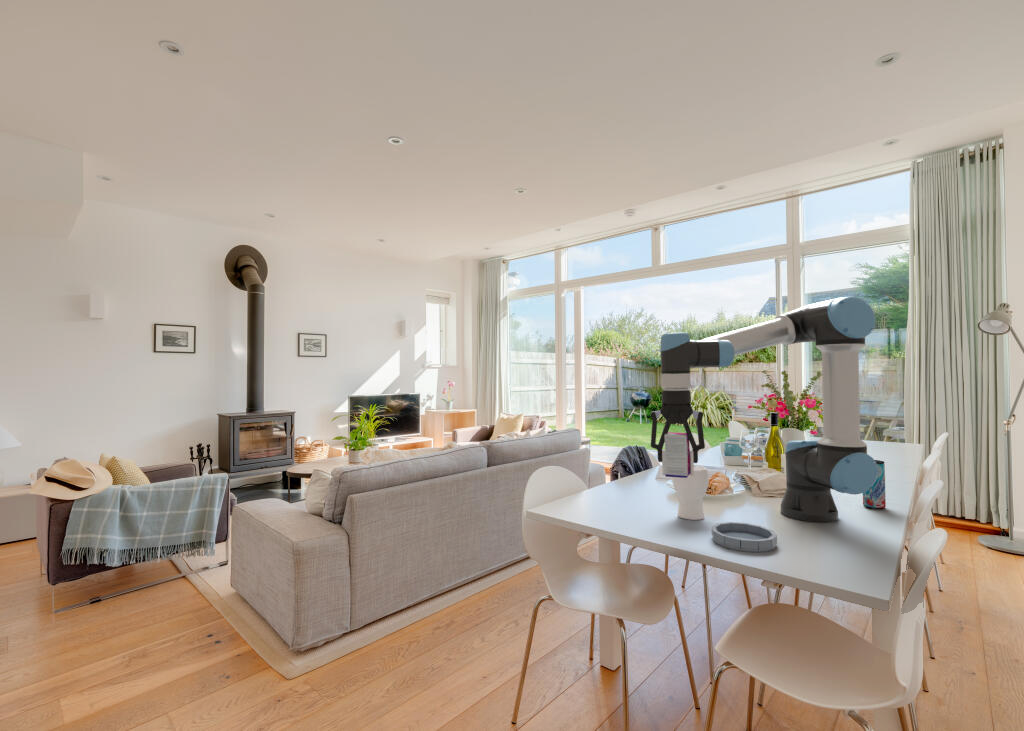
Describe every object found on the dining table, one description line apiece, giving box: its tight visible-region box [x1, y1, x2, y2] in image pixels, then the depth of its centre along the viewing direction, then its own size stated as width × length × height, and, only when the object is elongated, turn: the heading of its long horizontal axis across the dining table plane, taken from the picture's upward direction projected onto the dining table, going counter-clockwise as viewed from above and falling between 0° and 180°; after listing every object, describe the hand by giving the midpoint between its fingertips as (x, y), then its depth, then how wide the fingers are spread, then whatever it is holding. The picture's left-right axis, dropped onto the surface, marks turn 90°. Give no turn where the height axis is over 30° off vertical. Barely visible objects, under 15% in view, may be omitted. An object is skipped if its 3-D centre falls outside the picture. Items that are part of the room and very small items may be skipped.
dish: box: [711, 521, 778, 553], centre depth 127 cm, size 15×15×3 cm
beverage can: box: [862, 459, 887, 511], centre depth 158 cm, size 6×6×15 cm
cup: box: [671, 464, 710, 521], centre depth 150 cm, size 11×11×15 cm
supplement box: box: [664, 431, 691, 478], centre depth 133 cm, size 6×6×12 cm
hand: (677, 474), depth 133 cm, fingers closed on supplement box, 6 cm apart
